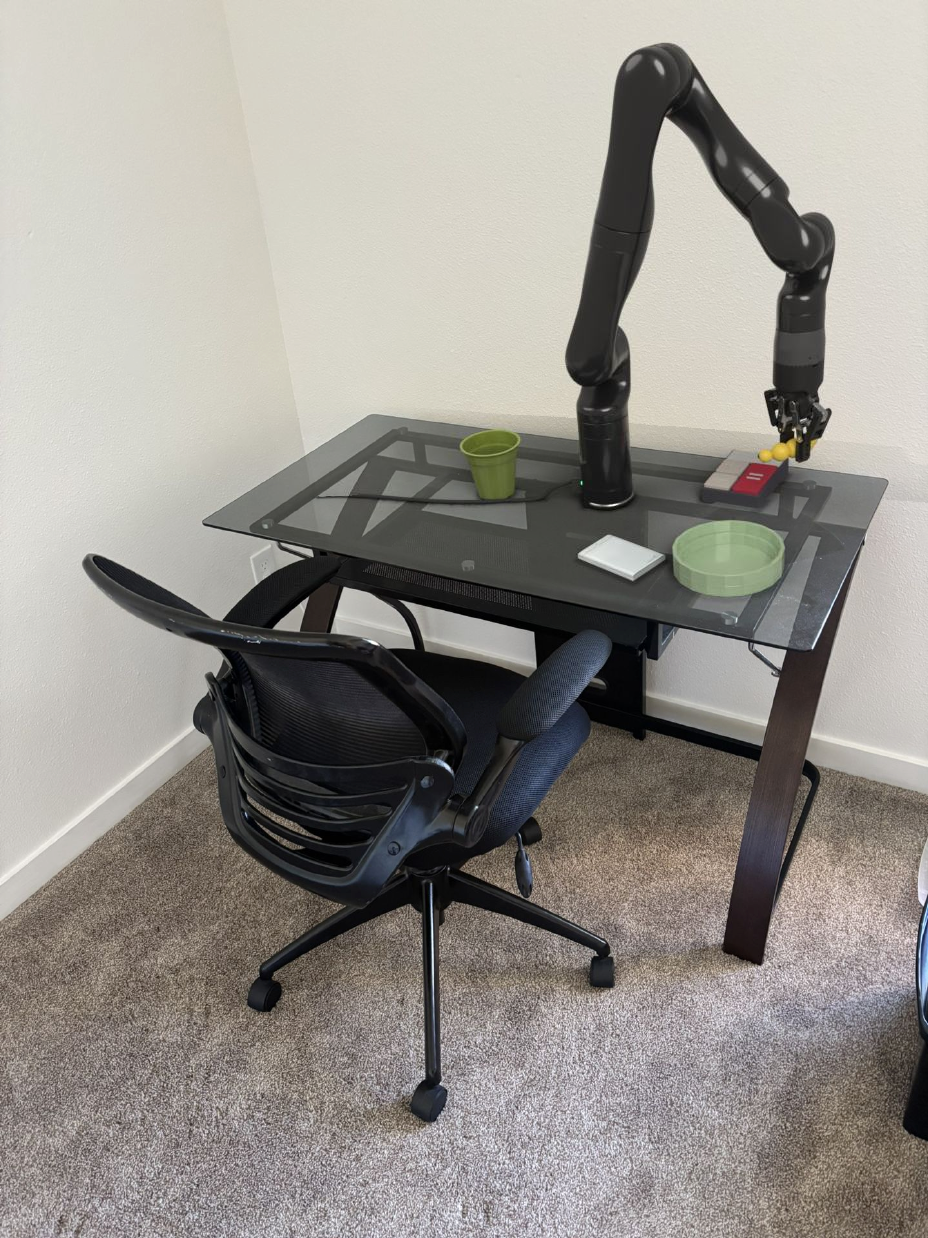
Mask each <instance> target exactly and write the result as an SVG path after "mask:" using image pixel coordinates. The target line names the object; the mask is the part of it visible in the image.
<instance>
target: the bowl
mask: <svg viewBox="0 0 928 1238" xmlns="http://www.w3.org/2000/svg"><path fill="white" fill-rule="evenodd" d="M671 551H672V571H673V577H675V579H676V580H677V581H678V583H679V584H680V585H682V586H684V587H685V588H687V589H688V590H690V591H692V592H695V593H699V594H701V595H705V596H712V597H721V598H731V597H732V598H733V597H744V596H748V595H753V594H756V593H760V592H762V591H764V590H766V589H769V588H770V587H772V586H774V584H776V583H777V582H778V581H779V580H780V579H781V578H782V575H783V573H784V571H785V570H784V569H785V555H786V546H785V543H784V540H783V538H782V537H781V536H780V535H779V533H777V532H776V531H775V530H773V529H771V528H769V527H767V526H765V525H763V524H760V523H756V522H752V521H747V520H734V519H727V520H713V521H709V522H705V523H701V524H697V525H695V526H693V527H690V528H688V529H685V531H683V532H682V533H681V534H680V535H678V536H677V537H676V538H675V540H674V542H673V544H672V546H671Z"/></svg>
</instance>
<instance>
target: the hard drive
mask: <svg viewBox="0 0 928 1238" xmlns="http://www.w3.org/2000/svg"><path fill="white" fill-rule="evenodd" d="M577 559H579V560H582V561H583V562H587V563H589V564H591V565H594V566H596V567H598V568H601V569H603V570H606V571H609V572H611V573H613V574H615V575H618V576H620V577H623V578H625V579H627V580H630V581H632V582H635V580H637V579H638V578H640V577H642V576H643V575H645V574H646V573H648V572H649V571H650V570H652V569H654V568H655V567H656V566H658V565H659V564H661V563H663V562H664V561H665V560H666V554H664V553H660V552H658V551H655V550H653V549H650V548H647V547H645V546H643V545H642V546H641V545H639V544H637V543H634V542H631V541H629V540H626V539H623V538H620V537H618V536H614V535H612V534H607V535H605V536H603V537H602V538H600V539H599V540H597V541H595V542H594V543H592V544H590V545H589V546H587V547H586V548H584V549H582V550H581V551H579V553H578V554H577Z"/></svg>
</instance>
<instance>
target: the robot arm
mask: <svg viewBox="0 0 928 1238" xmlns="http://www.w3.org/2000/svg"><path fill="white" fill-rule="evenodd" d="M717 99H718V98H716V96H715V95H714V93H713V92H712V90H711V88H710V87H709V86H708V84H707V82H706V81H705V79H704V77H703V75H702V74H701V72H700V71H699V69H698V68H697V66H696V64H695V63H694V62H693V60H692V59H691V57H690V55H689V54H688V53H687V52H686V51H685V50H684V49H683V47H681V46H680V45H678V44H675V43H672V42H659V43H658V42H657V43H653V44H650V45H647V46H644V47H641V48H638V49H636V50H633V52H631V53H630V54H628V56H626V58H625V59H623V61H622V63H621V65H620V67H619V69H618V71H617V75H616V78H615V82H614V89H613V97H612V106H611V117H610V129H609V130H610V131H609V139H608V146H607V154H606V159H605V164H604V168H603V173H602V178H601V182H600V183H601V184H600V188H599V193H598V199H597V204H596V208H595V212H594V216H593V222H592V226H591V232H590V236H589V238H590V239H589V242H588V243H589V244H588V252H587V257H586V261H585V262H586V263H585V267H584V273H583V279H582V285H581V291H580V299H579V303H578V307H577V311H576V315H575V317H574V321H573V325H572V328H571V330H570V335H569V337H568V340H567V344H566V348H565V350H564V351H565V353H564V364H565V369H566V371H567V373H568V376H569V377H570V378H571V380H572V381H573V382H574V383H575V384H576V385H578V386H580V391H579V394H578V397H577V399H576V403H575V411H576V422H577V435H578V444H579V455H580V457H579V465H580V467H579V468H574V470H573V473H572V475H571V478H570V479H568V480H565V481H562V482H559V483H556V484H553V485H552V486H551V487H549V488H548V489H547V490H546V491H545V492H544V493H543V494H540V495H537V496H534V497H520V498H519V497H511V498H510V497H507V498H505V499H486V500H485V499H441V498H423V497H411V496H410V497H409V496H408V497H407V496H397V495H396V496H395V495H384V494H373V493H372V494H371V493H370V494H369V493H357V494H358V495H352V497H351V498H359V499H360V498H363V499H377V500H378V499H379V500H392V501H400V502H401V501H402V502H413V503H425V504H426V503H427V504H448V505H454V504H455V505H467V504H468V505H473V504H474V505H475V504H476V505H477V504H479V505H480V504H481V505H482V504H498V503H499V504H501V503H502V504H503V503H530V502H531V503H532V502H536V501H537V502H538V501H541V500H544V499H546V498H547V497H548V496H549V495H550V494H551V493H552V492H553V491H555V490H558V489H559V488H561V487H565V486H568V485H571V492H572V493H573V494H574V493H575V494H576V493H577V494H579V493H582V498H583V508H585V509H586V508H589V509H593V510H597V511H598V510H600V511H607V510H608V511H609V510H610V511H611V510H616V509H620V508H624V507H625V506H627V505H629V504H631V502H632V501H633V500H634V498H635V493H634V492H635V491H634V484H633V468H632V454H631V453H632V452H631V434H630V420H629V419H630V418H629V401H630V396H631V390H632V379H631V378H632V377H631V376H632V371H631V369H632V368H631V367H632V366H631V364H632V363H631V347H630V343H629V339H628V336H627V334H626V332H625V331H624V329H623V328H622V327H621V326H620V325H619V323H620V320H621V319H620V318H621V315H622V312H623V309H624V306H625V304H626V301H627V300H628V297H629V295H630V293H631V291H632V289H633V287H634V285H635V283H636V280H637V278H638V276H639V273H640V272H641V269H642V266H643V263H644V261H645V259H646V255H647V253H648V252H647V251H648V248H649V244H650V239H651V235H652V229H653V227H654V220H655V215H656V213H655V212H656V199H655V189H654V177H653V165H654V159H655V152H656V149H657V145H658V141H659V137H660V135H661V131H662V126H663V123H664V120H665V118H666V120H668V121H670V122H671V123H672V124H673V125H675V126H676V127H677V128H678V129H679V130H680V131H681V132H683V134H684V135H685V136H686V137H687V138H688V139H689V141H690V142H691V143H692V145H693V147H694V148H695V149H696V151H697V153H698V154H699V156H700V158H701V160H702V162H703V164H704V166H705V168H706V170H707V173H708V174H709V177H710V179H711V181H712V182H713V183H714V185H715V187H716V188H717V189H718V191H719V192H720V193H721V195H722V196H723V197H724V198H725V199H726V201H727V202H728V203H729V204H730V206H732V207H733V208H734V209H735V210H736V212H737V213H738V214H739V215H740V216H741V217H742V218H743V219H744V220H745V221H746V222H747V223H748V224H749V227H750V228H751V231H752V232H753V235H754V236H755V239H756V240H757V242H758V243H759V245H760V247H761V248H762V251H763V252H764V254H765V255H766V257H767V258H768V259H769V260H770V262H771V263H772V264H773V265H774V266H775V267H777V268H778V269H779V270H780V271H782V272H783V273H785V274H784V275H785V276H784V281H783V284H782V286H781V287H780V290H779V291H778V293H777V298H776V305H775V330H774V337H773V344H772V345H773V348H772V349H773V350H772V351H773V352H772V382H771V383H772V385H773V388H770V389H767V390H764V391H763V397H764V401H765V405H766V409H767V414H768V418H769V422H770V424H771V427H775V428H777V433H779V443H785V444H786V443H787V442H788V441H789V440H790V439H793V438H797V441H796V453H795V458H794V460H795V462H797V463H798V464H802V463H804V462H807V461H809V459H810V457H811V451H812V450H811V441H813V440H816V439H818V440H819V439H821V438H822V437H823V435H824V434H825V431H826V428H827V426H828V423H829V421H830V419H831V416H832V414H833V411H832V409H831V408H830V407H827V408H824V407H823V406H822V405H821V404H820V402H821V401H820V396H819V389H820V387H821V386H822V384H823V383H824V379H825V378H824V375H825V360H826V359H825V358H826V344H827V343H826V342H827V341H826V338H827V337H826V310H827V309H826V308H827V290H828V286H829V281H830V277H831V273H832V267H833V263H834V258H835V251H836V232H835V227H834V224H833V223H832V221H831V219H830V218H829V217H828V216H826V215H825V214H824V213H821V212H817V211H808V212H805V213H803V214H801V215H800V214H799V213H798V211H796V209H795V207H794V206H793V205H792V203H791V202H790V200H789V198H790V193H791V191H790V188H789V186H788V184H787V182H786V181H785V180H784V179H783V178H782V176H781V175H780V174H779V173H778V172H777V171H776V169H774V167H772V166H771V165H770V163H769V162H768V161H767V160H766V159H765V158H764V157H763V156H762V155H761V154H760V152H759V151H758V150H757V149H756V148H755V146H753V145H752V143H750V141H749V140H748V139H747V138H746V137H745V136H744V134H743V133H742V132H741V131H740V129H739V128H738V127H737V125H736V124H735V123H734V122H733V121H732V119H731V117H730V116H729V115H728V113H727V112H726V110H724V108H723V107H722V105H721V103H720V102H719V101H718V100H717ZM776 411H777V413H776ZM776 414H777V415H776ZM804 428H805V431H806V432H804ZM794 429H795V430H794ZM795 435H796V437H795ZM349 496H350V495H349ZM353 496H354V497H353Z"/></svg>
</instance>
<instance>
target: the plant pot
mask: <svg viewBox="0 0 928 1238" xmlns="http://www.w3.org/2000/svg"><path fill="white" fill-rule="evenodd" d="M521 439H522V438H521V436H520V435H519V434H518V433H517V432H515V431H511V430H509V429H487V430H483V431H479V432H476V433H473V434H471V435H468V436H467V437H465V438H464V439H463V440H461V442H460V443H459V449H460V451H461V452H462V453H463V454H464V457H465V460H466V462H467V463H468V466H469V469H470V473H471V475H472V478H473V482H474V484H475V487H476V491H477V494H478V496H479V498H480V500H486V499H505V498H509V497H511V496H513V495H514V493H515V491H516V490H515V488H516V473H517V472H516V471H517V455H518V452H519V445H520V444H521Z"/></svg>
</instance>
